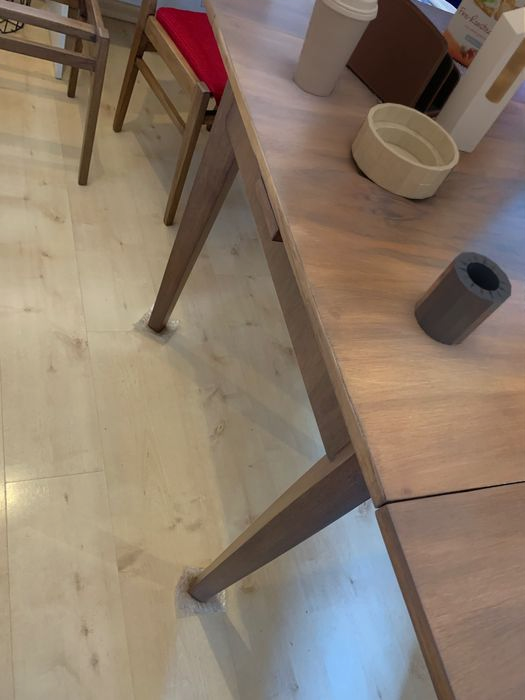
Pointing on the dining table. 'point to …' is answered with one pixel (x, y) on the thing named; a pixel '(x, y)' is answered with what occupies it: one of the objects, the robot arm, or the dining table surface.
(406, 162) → the bowl
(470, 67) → the milk
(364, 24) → the coffee cup
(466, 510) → the dining table surface
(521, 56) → the stick
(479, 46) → the cracker box
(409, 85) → the letter holder
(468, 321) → the crock
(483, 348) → the dining table surface
